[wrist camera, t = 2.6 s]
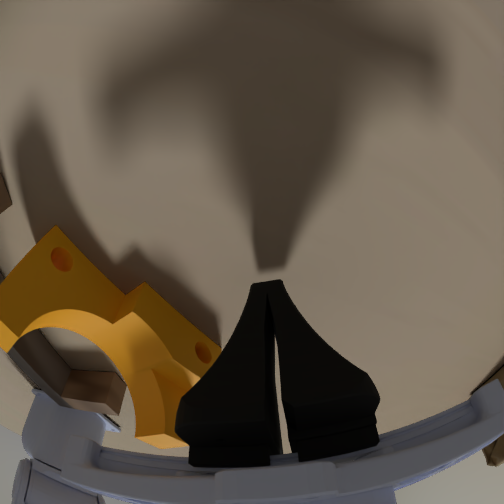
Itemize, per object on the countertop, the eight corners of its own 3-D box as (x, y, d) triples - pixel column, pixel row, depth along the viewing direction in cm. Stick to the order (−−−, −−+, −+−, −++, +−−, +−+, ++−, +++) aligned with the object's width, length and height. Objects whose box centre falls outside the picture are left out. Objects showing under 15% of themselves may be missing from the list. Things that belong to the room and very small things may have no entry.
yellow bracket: (221, 346, 17) (216, 441, 12) (174, 366, 18) (160, 449, 13) (73, 203, 12) (-8, 285, 6) (39, 247, 13) (-22, 324, 7)
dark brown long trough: (69, 380, 20) (59, 405, 18) (-44, 206, 11) (-70, 227, 8) (126, 385, 20) (118, 415, 17) (0, 172, 10) (-35, 195, 7)
